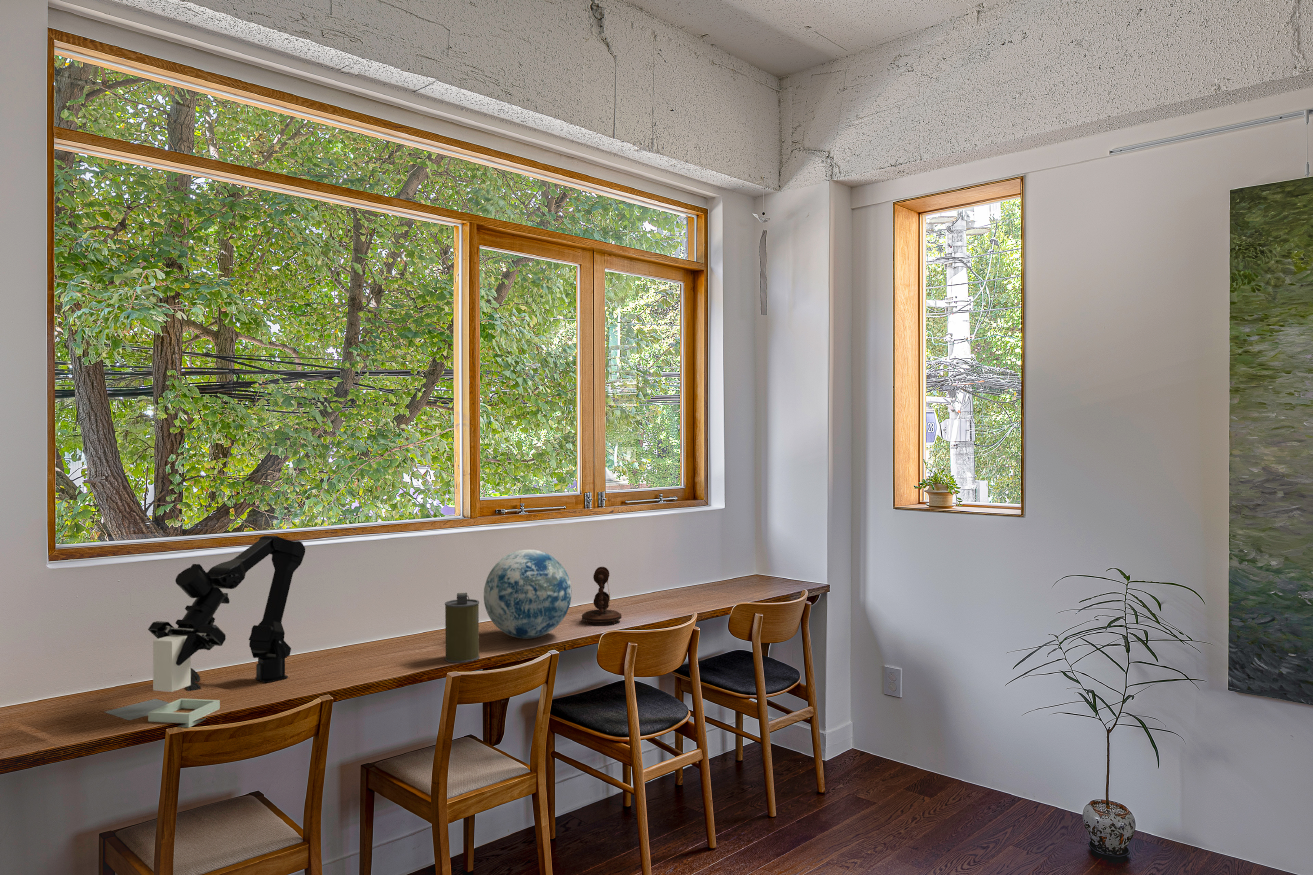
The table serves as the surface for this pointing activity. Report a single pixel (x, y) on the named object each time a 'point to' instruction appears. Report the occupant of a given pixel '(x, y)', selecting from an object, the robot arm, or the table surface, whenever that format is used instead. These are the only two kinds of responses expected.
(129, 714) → the coaster
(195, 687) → the hairbrush
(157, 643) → the white block
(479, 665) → the table surface
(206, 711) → the tray
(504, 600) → the globe
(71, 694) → the table surface
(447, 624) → the canister
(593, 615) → the dark pedestal ornament
